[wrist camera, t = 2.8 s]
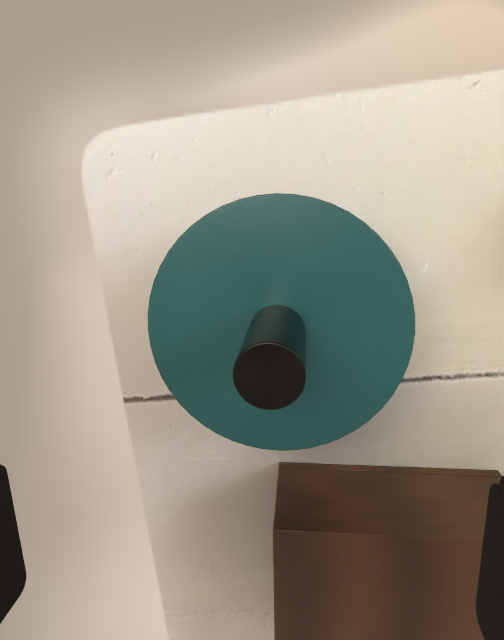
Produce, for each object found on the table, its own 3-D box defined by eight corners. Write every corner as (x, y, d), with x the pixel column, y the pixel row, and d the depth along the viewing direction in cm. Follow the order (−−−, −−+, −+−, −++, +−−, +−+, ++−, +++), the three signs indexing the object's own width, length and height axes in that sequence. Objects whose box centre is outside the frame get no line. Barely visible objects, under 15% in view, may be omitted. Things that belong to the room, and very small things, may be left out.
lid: (164, 436, 25) (117, 518, 19) (144, 196, 22) (79, 199, 16) (402, 443, 24) (437, 535, 17) (419, 189, 21) (470, 189, 14)
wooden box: (280, 627, 38) (275, 721, 31) (279, 462, 34) (272, 529, 27) (476, 641, 36) (515, 745, 29) (498, 470, 32) (549, 544, 25)
